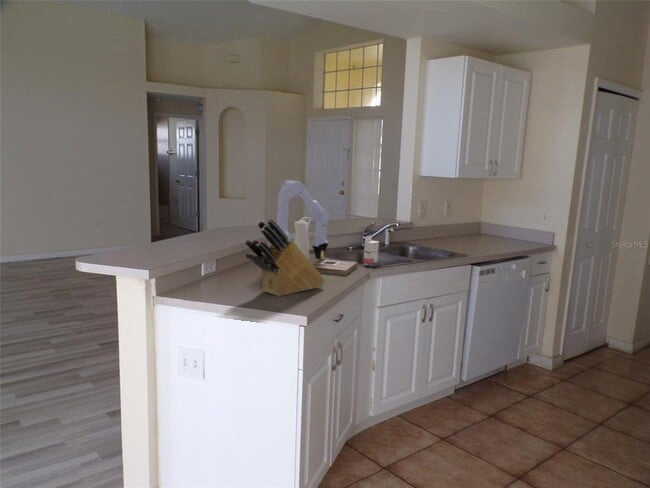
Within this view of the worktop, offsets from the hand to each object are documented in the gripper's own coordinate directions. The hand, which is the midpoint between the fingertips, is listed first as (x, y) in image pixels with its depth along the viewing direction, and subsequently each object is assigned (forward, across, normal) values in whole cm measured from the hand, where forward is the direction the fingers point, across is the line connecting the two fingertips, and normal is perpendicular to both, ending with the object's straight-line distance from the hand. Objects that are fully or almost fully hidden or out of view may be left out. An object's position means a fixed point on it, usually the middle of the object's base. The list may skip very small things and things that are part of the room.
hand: (320, 257), depth 271 cm
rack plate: (+2, -16, -12) cm, 20 cm away
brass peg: (+2, 0, 0) cm, 2 cm away
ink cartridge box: (+2, +10, -26) cm, 28 cm away
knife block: (+2, -67, -7) cm, 67 cm away
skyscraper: (+2, -39, -3) cm, 39 cm away
